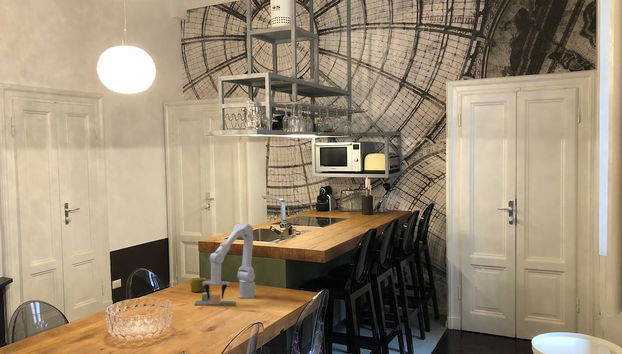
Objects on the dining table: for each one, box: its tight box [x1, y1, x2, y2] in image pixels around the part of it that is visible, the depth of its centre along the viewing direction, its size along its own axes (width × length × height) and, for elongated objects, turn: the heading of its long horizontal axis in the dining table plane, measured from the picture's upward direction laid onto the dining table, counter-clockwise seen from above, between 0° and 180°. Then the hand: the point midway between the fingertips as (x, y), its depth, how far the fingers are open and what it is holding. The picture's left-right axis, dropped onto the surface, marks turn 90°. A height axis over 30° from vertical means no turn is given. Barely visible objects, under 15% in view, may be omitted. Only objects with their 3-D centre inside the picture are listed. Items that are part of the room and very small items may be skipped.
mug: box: [190, 277, 207, 293], centre depth 317 cm, size 12×10×10 cm
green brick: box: [201, 291, 212, 301], centre depth 295 cm, size 5×5×4 cm
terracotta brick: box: [210, 293, 221, 304], centre depth 288 cm, size 5×5×4 cm
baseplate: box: [194, 300, 236, 307], centre depth 288 cm, size 22×8×1 cm, turn 94°
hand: (215, 298), depth 288 cm, fingers open, 7 cm apart
